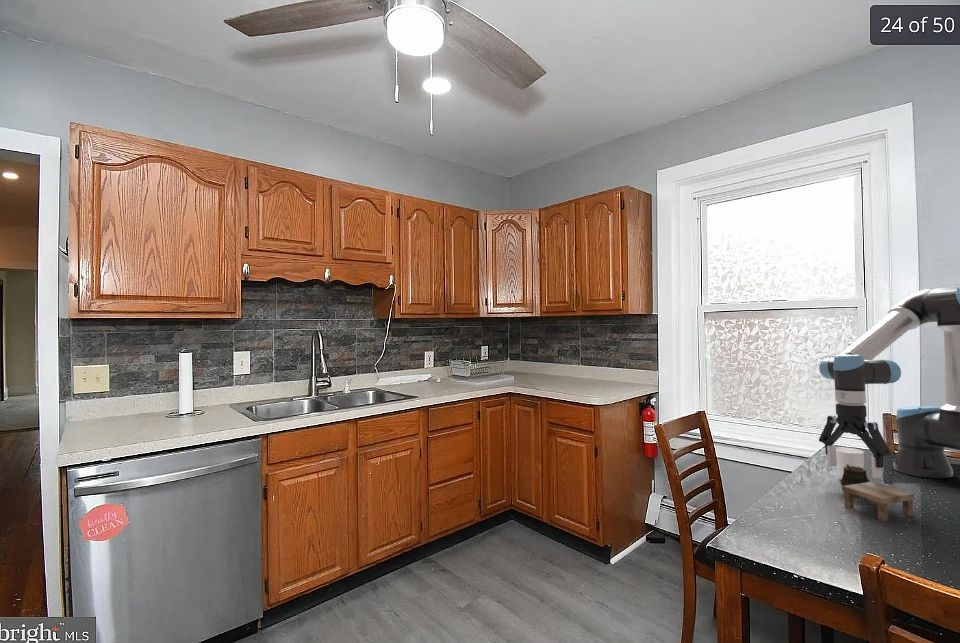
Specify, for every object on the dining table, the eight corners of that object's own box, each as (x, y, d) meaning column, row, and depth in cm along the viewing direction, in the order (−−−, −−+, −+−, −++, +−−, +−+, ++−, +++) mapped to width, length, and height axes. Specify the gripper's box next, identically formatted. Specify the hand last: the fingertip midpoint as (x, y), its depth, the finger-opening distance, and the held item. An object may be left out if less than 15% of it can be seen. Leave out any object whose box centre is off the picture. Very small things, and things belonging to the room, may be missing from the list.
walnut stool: (872, 502, 135) (871, 481, 136) (915, 516, 125) (913, 493, 125) (843, 506, 133) (842, 485, 133) (884, 521, 122) (883, 498, 122)
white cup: (871, 483, 151) (869, 453, 151) (844, 483, 153) (842, 453, 153) (856, 476, 159) (854, 447, 159) (831, 475, 160) (829, 447, 161)
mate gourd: (875, 494, 141) (873, 462, 142) (866, 500, 137) (864, 467, 137) (846, 488, 147) (844, 457, 148) (837, 493, 143) (835, 462, 143)
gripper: (804, 399, 154) (807, 462, 154) (884, 410, 130) (888, 485, 129) (821, 398, 156) (824, 460, 155) (904, 408, 132) (908, 482, 131)
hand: (853, 471), depth 142 cm, fingers open, 13 cm apart
